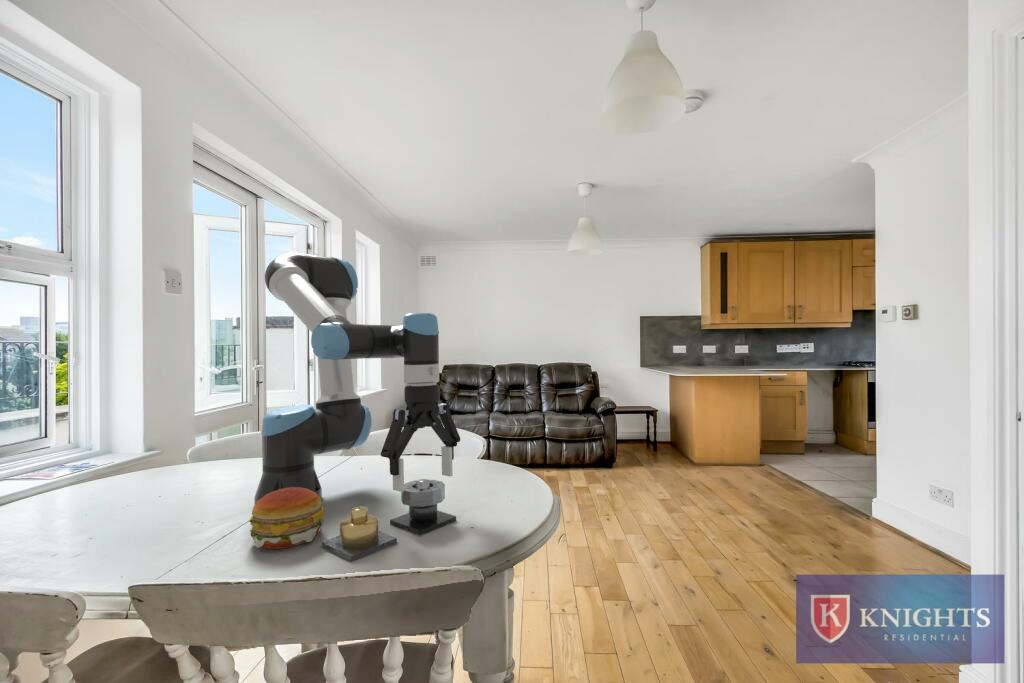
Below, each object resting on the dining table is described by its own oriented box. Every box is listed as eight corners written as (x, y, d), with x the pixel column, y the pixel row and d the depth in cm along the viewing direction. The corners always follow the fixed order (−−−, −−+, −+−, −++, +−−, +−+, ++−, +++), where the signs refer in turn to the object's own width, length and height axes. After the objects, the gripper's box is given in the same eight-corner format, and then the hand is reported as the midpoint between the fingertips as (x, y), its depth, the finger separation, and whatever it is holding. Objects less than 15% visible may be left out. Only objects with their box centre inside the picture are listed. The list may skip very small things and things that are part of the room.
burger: (297, 522, 101) (297, 476, 101) (339, 534, 94) (338, 485, 94) (235, 545, 89) (234, 493, 89) (277, 561, 82) (276, 505, 83)
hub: (321, 547, 88) (321, 510, 88) (367, 530, 95) (366, 496, 96) (350, 562, 81) (350, 522, 82) (397, 543, 89) (396, 506, 89)
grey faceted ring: (393, 500, 99) (393, 486, 99) (425, 490, 106) (425, 477, 106) (420, 509, 93) (420, 494, 93) (452, 498, 100) (452, 484, 100)
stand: (390, 524, 99) (389, 482, 99) (425, 511, 107) (425, 472, 107) (420, 535, 92) (420, 491, 93) (456, 520, 100) (455, 479, 100)
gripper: (384, 389, 88) (386, 500, 87) (474, 380, 107) (476, 472, 107) (361, 388, 93) (363, 494, 92) (451, 380, 112) (453, 467, 111)
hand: (424, 482), depth 99 cm, fingers open, 13 cm apart
